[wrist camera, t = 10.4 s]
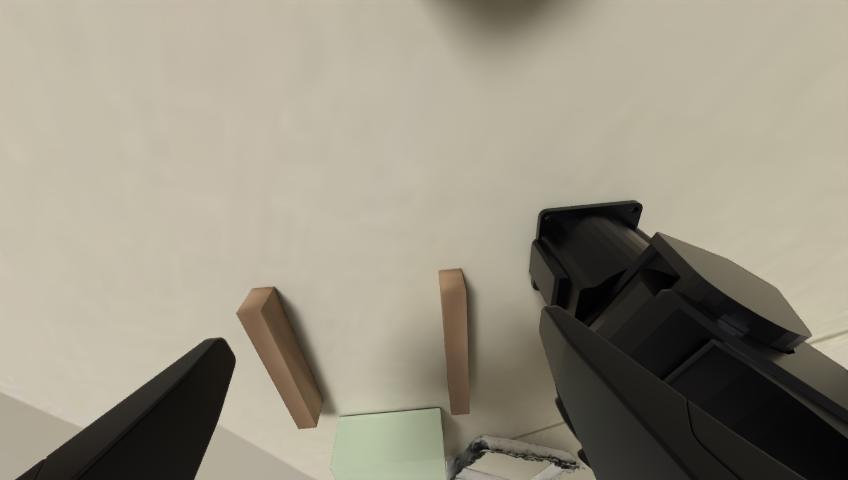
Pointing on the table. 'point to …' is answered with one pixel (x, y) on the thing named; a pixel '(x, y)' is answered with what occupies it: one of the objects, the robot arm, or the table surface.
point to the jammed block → (390, 447)
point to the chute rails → (291, 369)
